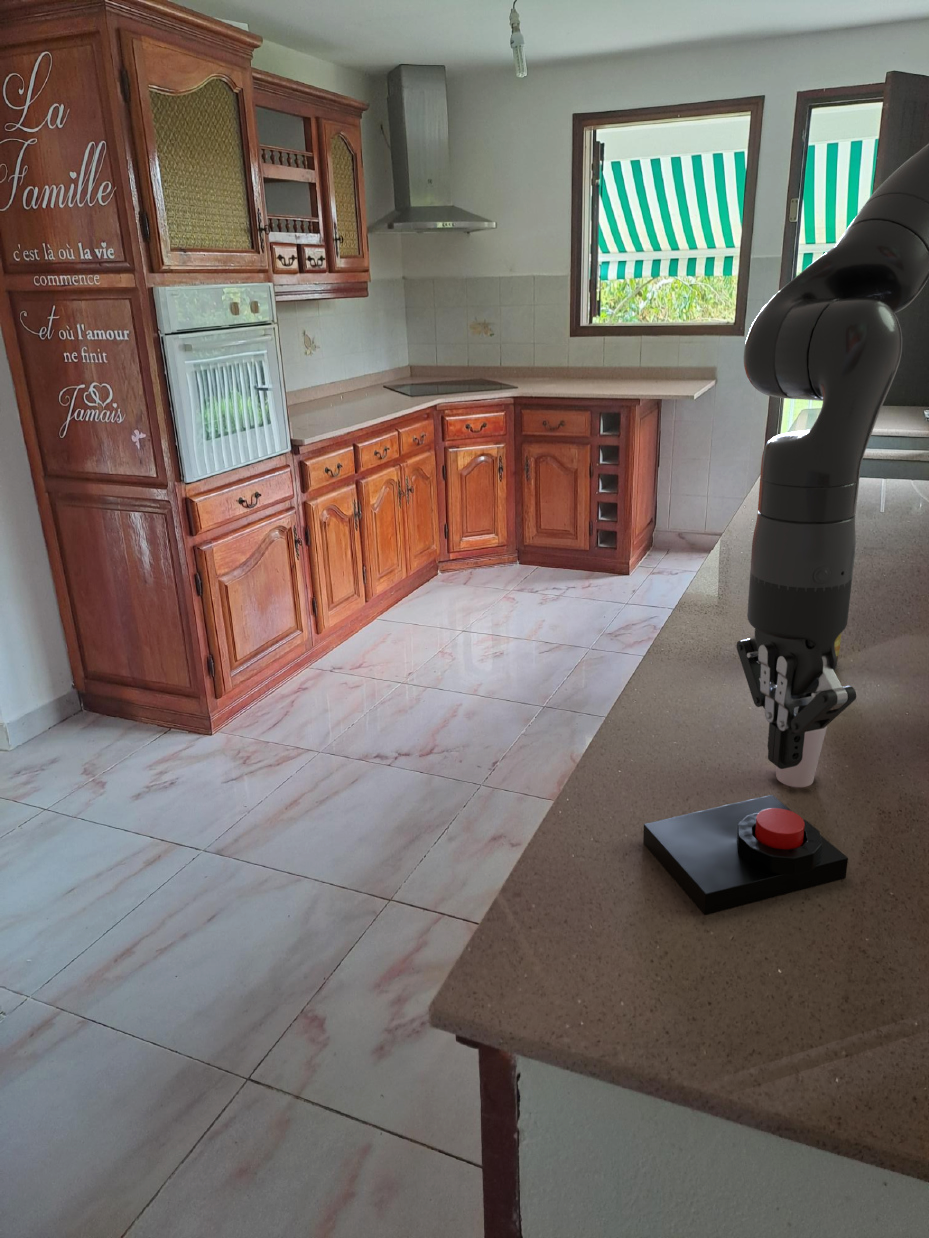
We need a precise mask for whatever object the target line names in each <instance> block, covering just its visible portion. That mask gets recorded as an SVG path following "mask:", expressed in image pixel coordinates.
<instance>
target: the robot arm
mask: <svg viewBox="0 0 929 1238" xmlns="http://www.w3.org/2000/svg"><path fill="white" fill-rule="evenodd" d="M928 281H929V143H927V144H926V145H925V146H923V147H922V148H921V149H920V150H918V151H917V152H916V153H914V154H913V155H912V156H910V158H909V159H907V160H906V161H905V162H904V163H902V164H901V165H900V166H899V167H898V168H897V169H896V170H894V171H893V172H892V173H891V174H890V175H889V176H888V177H887V178H886V179H885V180H884V181H883V183H881V184H880V185H879V186H878V187H877V188H876V190H874V192H873V193H872V194H871V196H870V197H869V198H868V200H867V201H866V202H865V204H864V205H863V206H862V208H861V209H860V211H859V212H858V213H857V215H856V216H855V218H853V220H852V221H851V222H850V224H849V225H848V227H847V228H846V230H845V231H844V232H843V234H842V236H841V237H840V238H839V240H838V241H837V243H836V244H835V246H833V247H832V248H830V249H829V250H827V252H825V253H824V254H823V255H821V256H820V257H818V258H817V259H815V260H814V261H813V262H812V263H811V264H809V265H808V266H807V267H806V268H804V270H802V271H801V272H800V273H798V274H797V275H796V276H795V277H794V278H793V279H791V280H790V281H789V282H788V283H787V284H785V286H783V287H782V288H781V289H780V290H778V291H777V293H775V294H774V295H773V296H772V297H771V298H770V300H769V301H767V303H766V304H765V305H764V306H763V307H762V308H761V310H760V312H759V313H758V314H757V316H756V317H755V319H754V321H753V322H752V324H751V327H750V328H749V331H748V333H747V336H746V340H745V343H744V350H743V366H744V370H745V375H746V377H747V379H748V381H749V383H750V384H751V385H752V386H753V387H754V389H755V390H757V391H758V392H760V393H761V394H763V395H765V396H769V397H771V398H777V399H788V400H789V399H790V400H806V401H818V402H819V401H820V402H822V405H821V408H820V411H819V413H818V416H817V417H816V419H815V421H814V423H813V424H812V426H811V428H809V429H802V430H795V431H789V432H784V433H780V434H777V435H775V436H773V437H772V438H770V439H769V440H768V441H767V442H766V444H765V446H764V448H763V451H762V456H761V462H760V473H759V474H760V476H759V477H760V478H759V488H758V489H759V490H758V503H757V504H758V505H757V513H756V514H757V515H756V521H755V525H754V530H753V536H752V543H751V557H750V571H749V585H748V586H749V587H748V598H747V613H746V617H747V621H748V622H749V624H750V625H751V627H753V628H754V636H752V637H751V638H746V639H742V640H738V641H737V642H736V645H735V647H736V650H737V654H738V658H739V660H740V663H741V666H742V670H743V673H744V676H745V679H746V682H747V685H748V688H749V692H750V694H751V698H752V701H753V704H754V705H755V706H756V707H757V708H760V707H762V708H763V709H764V717H765V720H766V721H767V722H768V724H769V725H768V737H767V760H768V761H769V762H771V764H773V765H774V766H775V767H776V766H777V767H778V768H780V769H785V768H789V767H794V766H797V765H798V764H799V763H800V762H801V760H802V757H803V753H802V752H803V746H804V736H805V732H808V731H813V730H818V729H823V728H825V727H826V726H827V727H828V725H830V724H831V722H833V721H834V720H835V719H836V718H837V717H838V716H839V715H840V714H842V712H844V711H845V710H846V709H847V708H848V707H849V706H850V705H851V704H853V703H854V702H855V701H856V699H857V692H856V690H855V688H854V687H853V686H851V685H846V686H843V685H842V684H841V683H842V682H840V680H839V678H838V676H837V674H836V673H835V670H836V668H837V666H838V660H837V657H836V653H835V640H836V639H837V637H838V636H839V635H840V633H841V634H842V633H843V632H844V631H845V629H846V628H847V626H848V621H849V620H848V619H849V611H850V603H851V593H852V585H853V575H854V566H855V557H856V549H857V546H856V545H857V536H856V514H857V505H858V496H859V487H860V479H861V468H862V463H863V459H864V457H865V453H866V450H867V449H868V444H869V443H870V439H871V437H872V434H873V431H874V428H875V425H876V423H877V420H878V418H879V415H880V412H881V410H882V407H883V405H884V402H885V401H886V398H887V395H888V393H889V391H890V389H891V386H892V384H893V381H894V379H895V377H896V374H897V371H898V368H899V366H900V362H901V359H902V352H903V334H902V327H901V325H900V322H899V319H898V316H897V315H896V313H899V312H901V311H902V310H903V309H906V308H907V307H908V306H909V305H910V304H911V303H912V302H913V301H914V300H915V299H916V298H917V296H918V295H919V294H920V293H921V291H922V290H923V288H924V287H925V285H926V284H927V283H928ZM798 707H799V708H798Z"/></svg>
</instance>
